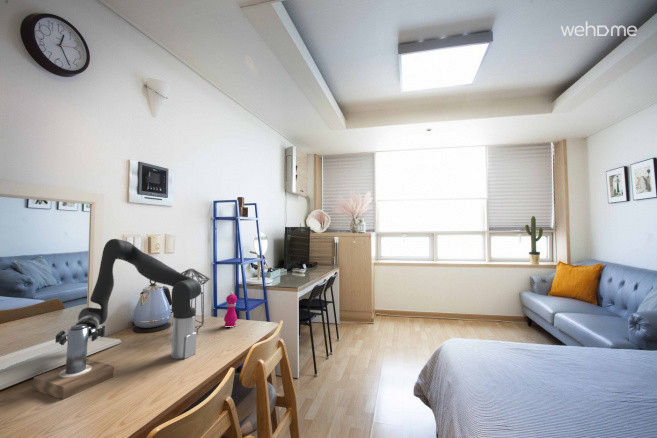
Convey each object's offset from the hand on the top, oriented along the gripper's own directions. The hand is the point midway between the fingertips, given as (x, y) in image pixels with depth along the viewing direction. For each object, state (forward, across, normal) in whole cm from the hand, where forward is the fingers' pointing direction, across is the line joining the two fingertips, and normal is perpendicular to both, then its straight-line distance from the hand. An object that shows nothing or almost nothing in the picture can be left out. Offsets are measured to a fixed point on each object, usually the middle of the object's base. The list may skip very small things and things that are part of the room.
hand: (77, 340), depth 106 cm
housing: (0, 0, +11) cm, 11 cm away
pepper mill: (-38, +63, +15) cm, 75 cm away
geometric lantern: (-36, +40, +15) cm, 56 cm away
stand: (0, 0, +15) cm, 15 cm away
